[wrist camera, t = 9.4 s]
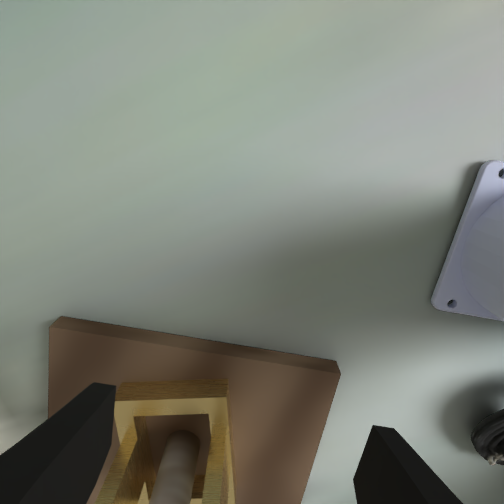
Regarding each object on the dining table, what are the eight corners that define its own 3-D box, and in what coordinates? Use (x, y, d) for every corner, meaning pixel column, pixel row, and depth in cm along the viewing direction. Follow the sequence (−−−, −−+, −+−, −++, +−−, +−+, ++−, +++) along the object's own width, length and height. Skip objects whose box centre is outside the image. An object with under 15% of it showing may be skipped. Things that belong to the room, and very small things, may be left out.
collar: (228, 378, 19) (219, 465, 14) (236, 486, 22) (231, 594, 16) (121, 382, 19) (73, 470, 14) (141, 488, 22) (106, 598, 17)
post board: (336, 361, 20) (368, 445, 15) (288, 518, 24) (299, 633, 18) (61, 316, 20) (-19, 387, 14) (57, 486, 23) (-7, 597, 18)
